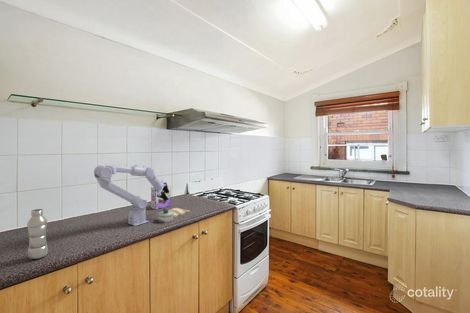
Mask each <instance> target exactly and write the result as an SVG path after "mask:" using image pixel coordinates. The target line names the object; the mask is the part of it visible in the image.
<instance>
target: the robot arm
mask: <svg viewBox="0 0 470 313" xmlns="http://www.w3.org/2000/svg"><path fill="white" fill-rule="evenodd" d="M117 173H124V174H125V173H126V174H127V173H128V174H130V175H131V176H135V177H136V176H137V177H145V178H146V180H147V181H148V182H149V183H150V184H151V185H152V186H151V187H154V188H155V189H156V192H157V197H159V198H162V199H163V200H165V201H167V200H168V197H167V196H166V194H165V193H169V189H168V187H167V185H168V184H167V181H166V182H165V181H164V180H160V178H159V177H158V175H156V174H155V170H154V169H153V168H151V167H146V166H144V165H143V166H139V165H138V164H137V165H136V164H135V165H131V167H126V166H119V165H97V166H96V167H94V170H93V174H94V177H95V179H96V181H97V182H98V185H99V187H100V188H101V189H103V190H105V191H107V192H109V193H111V194H113V195H115V196H117V197H119V198H121V199H123V200H125V201H127V202H129V203H130V204H131V205H132V209H131V210H129V211H128V214H127V216H128V220H127V221H128V222H127V224H129V225H132V226H134V227H136V226H139V225H143V224H145V223H149V220H147V215H146V214H147V213H146V210H147V208H146V207H147V206H148V203H149V202H148V200H147V199H146V198H143V197H140V196H137V195H135V194H133V193H131V192H129V191H127V190H126V189H124V188H121V187H120V186H118V185H116V184H114V183H112V177H113V176H112V175H115V174H117ZM162 190H163V191H164V192H161V191H162Z"/></svg>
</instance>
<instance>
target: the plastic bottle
mask: <svg viewBox="0 0 470 313" xmlns="http://www.w3.org/2000/svg"><path fill="white" fill-rule="evenodd" d="M43 214H44V211H43V208H36V209H32V210H31V211H30V215H31V217H30V218H29V220H28V221H27V223H26V225H27V232H28V237H29V238H28V240H29V241H28V242H29V243H28V249H27V255H28V258H29V259H30V260H37V259H41V258H43V257H45V256H47V254H48V253H49V247H48V242H47V226H48V220H47V217H45V216H44V215H43Z"/></svg>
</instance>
